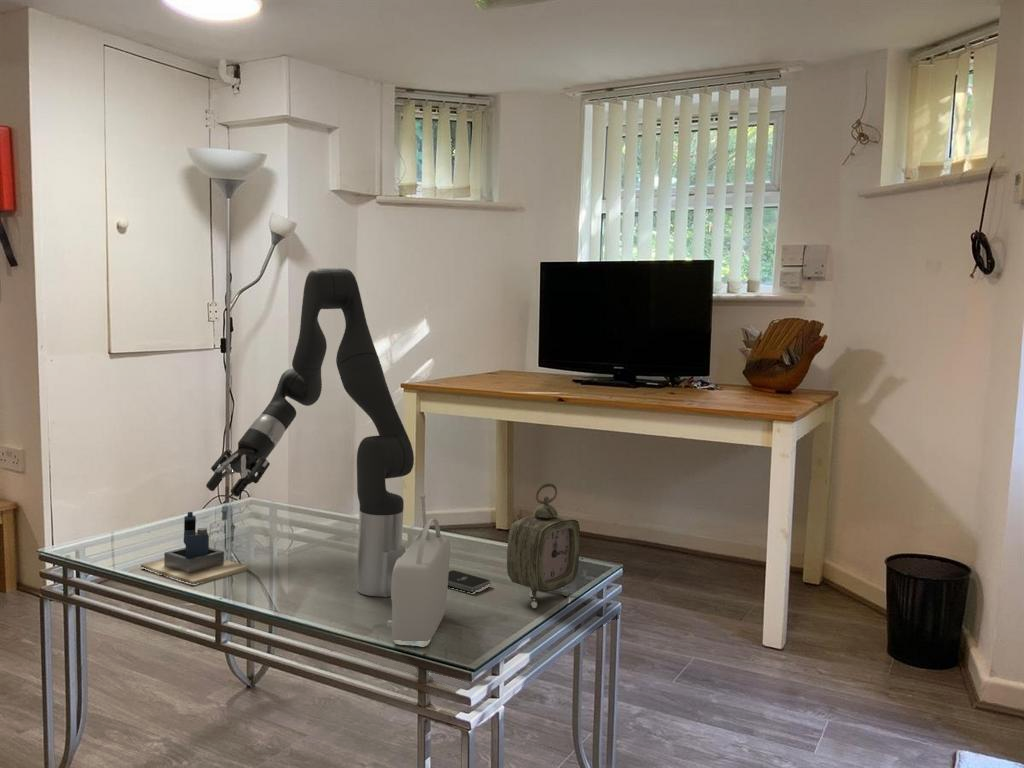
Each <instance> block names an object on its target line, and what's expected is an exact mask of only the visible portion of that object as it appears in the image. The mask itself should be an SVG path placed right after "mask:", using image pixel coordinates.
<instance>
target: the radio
mask: <svg viewBox="0 0 1024 768" xmlns="http://www.w3.org/2000/svg"><path fill="white" fill-rule="evenodd" d="M420 498H421V509H422V510H421V511H422V512H421V513H422V526H423V527H422V528H423V529H421V530H420V531H419V535H418V536H416V538H415V539H414V540H413V542H412V543H411V544H410V545H409V547H408V548H406V552H405V553H404V554H403V555H402V556H401V558H398V559H397V560H396V563H395V565H394V568H393V573H392V581H391V595H390V600H391V608H392V609H391V619H388V620H387V621H386V627H387V628H391V640H392V639H393V640H401V641H428V640H430V639H431V638H432V636H433V635H434V636H435V634H434V633H436V632H437V630H438V628H439V626H440V624H441V622H442V621H443V618H444V616H445V615H446V611H447V601H448V600H447V599H448V590H449V588H448V573H449V571H450V570H449V569H450V553H451V541H450V539H449V537H447V536H442V535H441V527H440V524H439V521H438V520H437V518H429V519H427V516H426V515H427V514H426V501H425V500H426V494H425V493H420ZM432 523H433V526H434V529H435V535H430V531H429V530H430V527H431V525H432ZM435 631H436V632H435ZM434 636H433V637H434ZM432 639H433V638H432ZM393 640H392V641H393Z"/></svg>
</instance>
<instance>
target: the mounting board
mask: <svg viewBox="0 0 1024 768" xmlns="http://www.w3.org/2000/svg"><path fill="white" fill-rule="evenodd" d="M141 567H144V568H146V569H149V570H151V571H154V572H157V573H159V574H162V575H165V576H168V577H172V578H174V579H178V580H181V581H184V582H188V583H191V584H197V583H201V582H205V583H208V582H207V581H209V582H212V581H215V579H216V580H218V579H219V580H220V579H223V578H225V577H226V578H227V577H229V576H232V575H236V574H239V573H243V572H246V571H248V570H247V569H248V566H247V565H244V564H242V563H239V562H234V561H232V560H227V559H225V558H224V565H221V566H217V567H214V568H210V569H206V570H203V571H199V572H195V573H192V574H188V573H185V572H182V571H178V570H175V569H172V568H169V567H166V566H164V558H162V559H159V560H157V559H156V560H153V561H150V562H145V563H142V564H140V568H141ZM211 580H212V581H211Z"/></svg>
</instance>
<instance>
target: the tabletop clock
mask: <svg viewBox="0 0 1024 768" xmlns="http://www.w3.org/2000/svg"><path fill="white" fill-rule="evenodd" d="M548 487H551V488H552V489H554V494H553V496H552V497H551V498H549V496H544V497H543V500H540V499H539V494H540V493H541V490H543V489H544V488H548ZM557 495H558V488H557V486H556V485H555V484H554V483H551V482H550V483H544V484H541V486H540V487H539V488H538V489H537V491H536V493H535V499H536V501H537V503H538V504H539V505H538V506H537V507H536V508H535V509H534V511H533V514H530V515H528V516H525V517H523V518H521V519H518V520H515V521H514V522H512V524H510V527H509V530H508V536H507V537H508V538H507V546H506V547H507V549H506V571H507V575H508V578H509V579H510V580H511V582H512V583H514V584H516V585H520V586H523V587H526V588H530V590H532V595H533V598H532V600H533V599H535V598H536V597H537V594H536V593H537V591H538V592H542V593H548V592H552V591H555V590H559V589H561V587H566V586H568V585H569V584H570V583H572V582H573V581H574V580H575V579H576V576H577V572H578V569H579V568H578V567H579V562H580V551H581V533H580V532H581V530H580V523H579V521H578V520H577V519H573V518H569V517H564V516H559V515H558V510H557V509H556V508H555V507H554V506H553V505H551V504H550V503H552V502H553V501H555V499H556V498H557ZM536 599H537V598H536Z"/></svg>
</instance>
